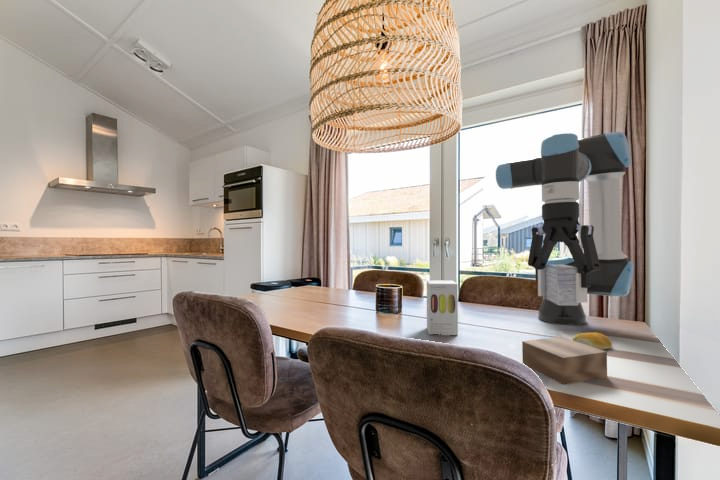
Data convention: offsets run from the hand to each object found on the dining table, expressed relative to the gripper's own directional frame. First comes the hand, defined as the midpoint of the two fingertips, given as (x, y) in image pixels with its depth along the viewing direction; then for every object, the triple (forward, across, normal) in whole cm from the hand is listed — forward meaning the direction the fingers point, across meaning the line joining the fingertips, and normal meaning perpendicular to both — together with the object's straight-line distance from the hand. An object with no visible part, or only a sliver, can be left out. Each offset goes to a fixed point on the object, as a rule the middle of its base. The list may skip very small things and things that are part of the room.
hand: (561, 298), depth 79 cm
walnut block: (+17, 0, 0) cm, 17 cm away
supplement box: (+17, -39, -5) cm, 43 cm away
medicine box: (+1, 0, 0) cm, 1 cm away
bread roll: (+17, -8, +24) cm, 30 cm away
